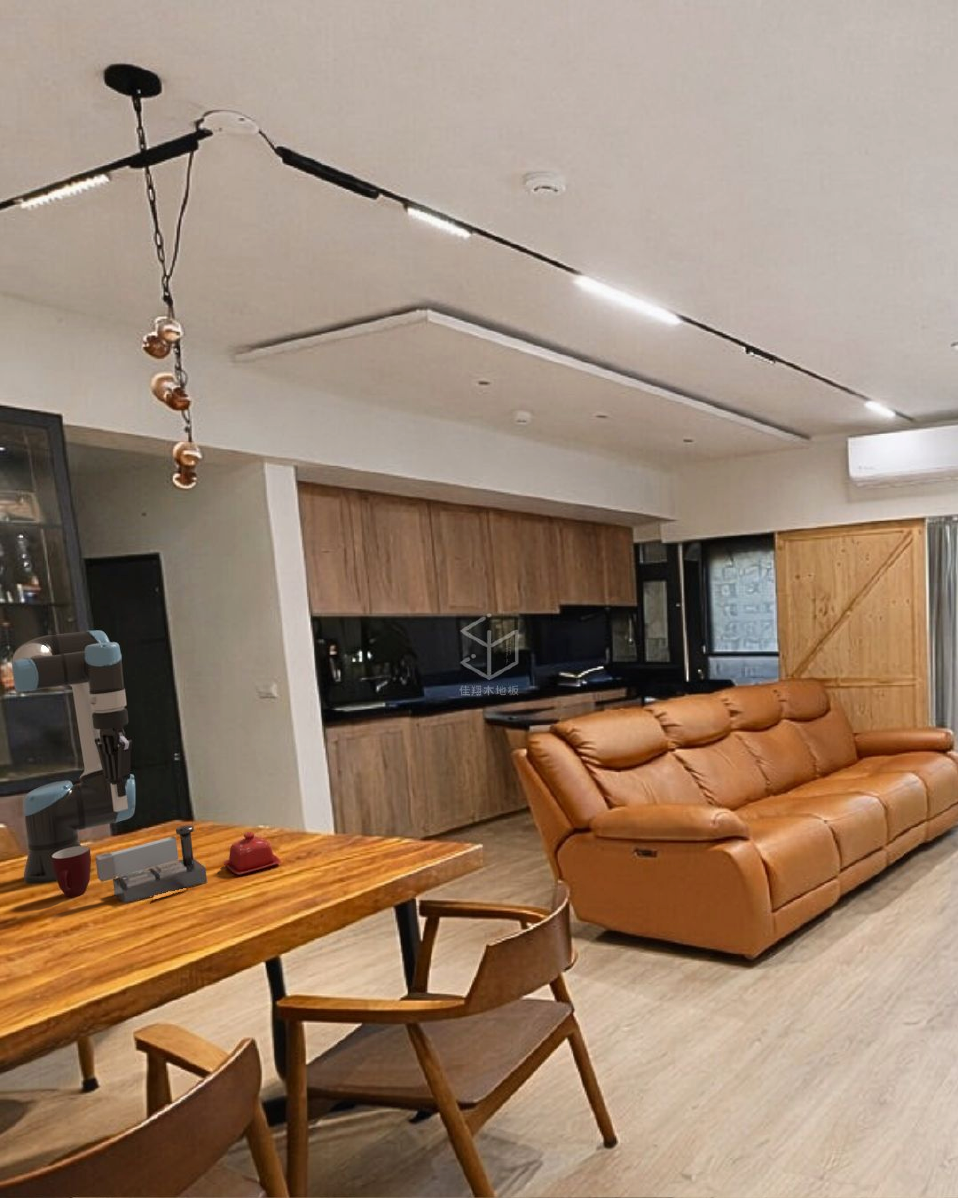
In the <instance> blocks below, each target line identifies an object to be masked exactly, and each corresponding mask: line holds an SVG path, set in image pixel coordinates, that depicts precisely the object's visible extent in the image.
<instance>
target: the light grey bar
mask: <svg viewBox="0 0 958 1198" xmlns="http://www.w3.org/2000/svg"><path fill="white" fill-rule="evenodd" d="M94 858H95V865H96V874H97V879H98V880H99V881H100V882H102V883H103V882H107V881H111V880H113V879H116V878H118V876H121V875H125V874H128V873H132V872H136V871H139V870H143V869H146V868H147V869H150V867H153V866H157V865H160V864H164V863H168V862H171V861H175V860H178V861H179V854H178V843H177V837H175V836H170V837H166V838H163V839H157V840H155V841H150V842H147V843H143V844H139V845H135V846H131V847H127V848H125V849H120V850H117V851H116V850H115V851H113V852H106V853H102V854H97V855H95V856H94Z"/></svg>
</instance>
